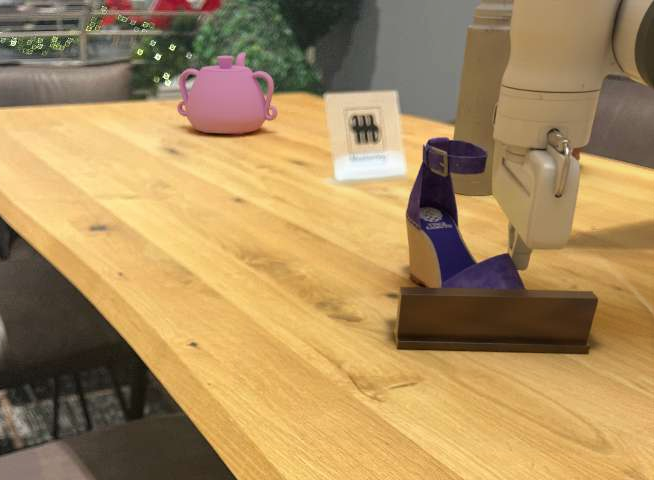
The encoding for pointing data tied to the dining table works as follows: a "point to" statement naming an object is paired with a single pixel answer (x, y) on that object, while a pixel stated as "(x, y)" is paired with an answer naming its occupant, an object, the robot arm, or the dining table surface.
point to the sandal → (449, 224)
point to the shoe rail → (494, 319)
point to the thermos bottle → (482, 87)
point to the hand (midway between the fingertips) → (516, 266)
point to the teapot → (226, 98)
